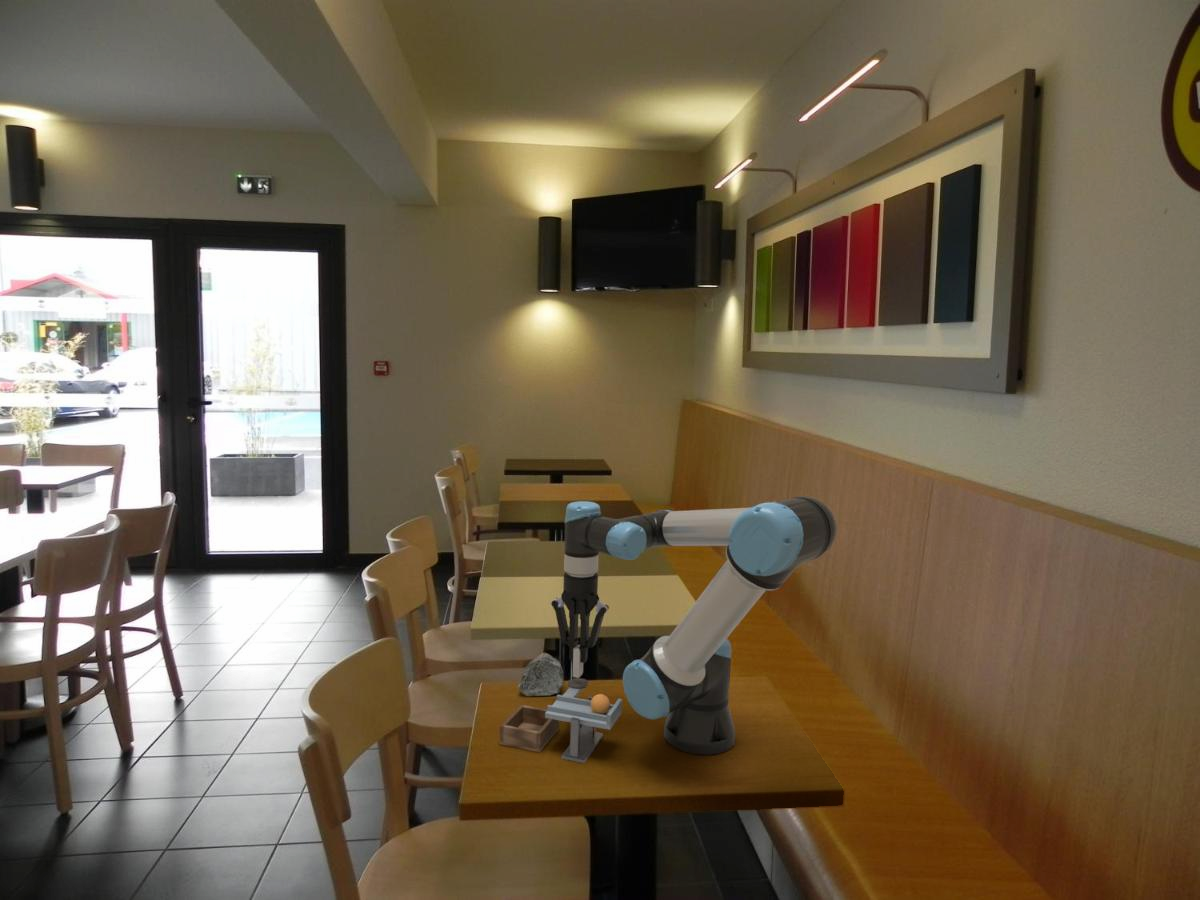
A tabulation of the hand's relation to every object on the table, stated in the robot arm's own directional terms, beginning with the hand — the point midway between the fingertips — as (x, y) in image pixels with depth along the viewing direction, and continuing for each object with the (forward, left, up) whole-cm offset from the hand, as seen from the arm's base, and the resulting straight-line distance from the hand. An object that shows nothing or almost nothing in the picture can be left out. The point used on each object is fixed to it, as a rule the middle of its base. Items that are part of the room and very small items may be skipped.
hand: (577, 674), depth 175 cm
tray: (+6, +12, -10) cm, 17 cm away
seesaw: (-5, +7, -3) cm, 9 cm away
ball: (-9, +12, -2) cm, 15 cm away
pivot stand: (-6, +12, -10) cm, 16 cm away
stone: (+12, -10, -11) cm, 19 cm away
